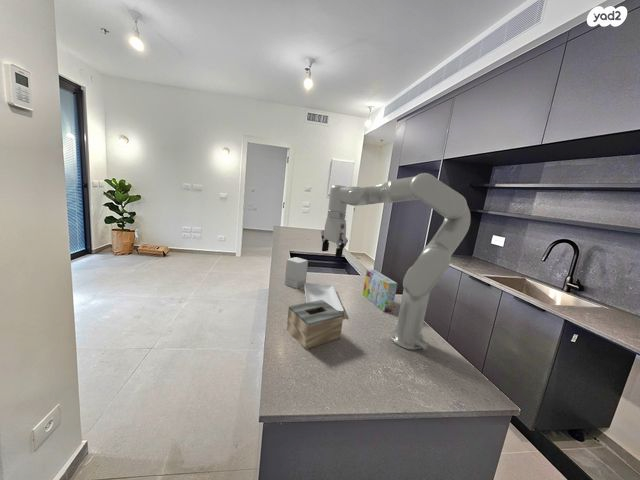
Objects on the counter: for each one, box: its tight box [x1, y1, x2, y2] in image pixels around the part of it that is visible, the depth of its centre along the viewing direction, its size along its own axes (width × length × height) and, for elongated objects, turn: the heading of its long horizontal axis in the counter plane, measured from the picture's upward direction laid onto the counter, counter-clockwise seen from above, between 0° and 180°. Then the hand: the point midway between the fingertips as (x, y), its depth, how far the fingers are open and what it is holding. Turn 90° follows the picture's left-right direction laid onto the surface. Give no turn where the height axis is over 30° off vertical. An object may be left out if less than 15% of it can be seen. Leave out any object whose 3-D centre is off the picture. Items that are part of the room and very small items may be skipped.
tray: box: [303, 282, 344, 313], centre depth 134 cm, size 17×31×4 cm, turn 7°
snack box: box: [362, 269, 399, 313], centre depth 139 cm, size 21×6×15 cm, turn 22°
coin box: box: [286, 300, 344, 350], centre depth 103 cm, size 14×16×10 cm
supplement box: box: [284, 256, 309, 289], centre depth 150 cm, size 9×9×15 cm
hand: (331, 254), depth 116 cm, fingers open, 9 cm apart
